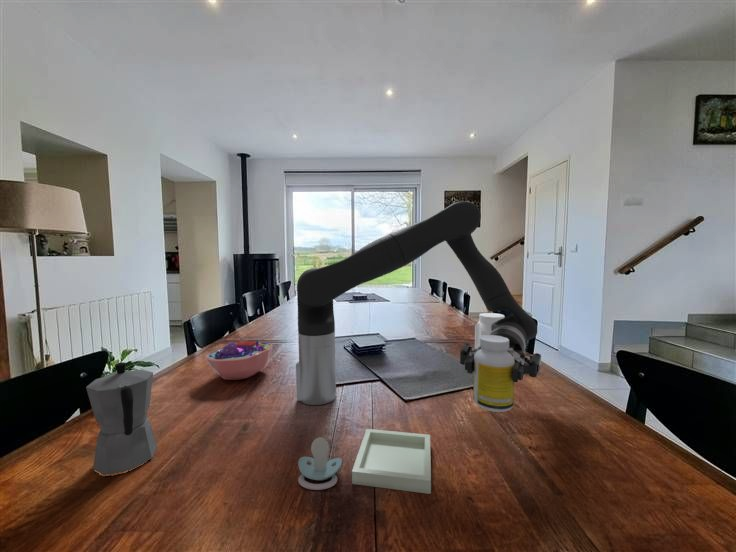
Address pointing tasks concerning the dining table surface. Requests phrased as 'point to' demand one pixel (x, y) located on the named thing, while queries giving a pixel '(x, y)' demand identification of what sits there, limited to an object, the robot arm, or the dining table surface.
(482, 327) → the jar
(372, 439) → the dish
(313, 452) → the pacifier
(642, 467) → the dining table surface
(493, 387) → the pill bottle
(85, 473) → the dining table surface
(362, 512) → the dining table surface
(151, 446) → the coffeepot
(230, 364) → the cell model
